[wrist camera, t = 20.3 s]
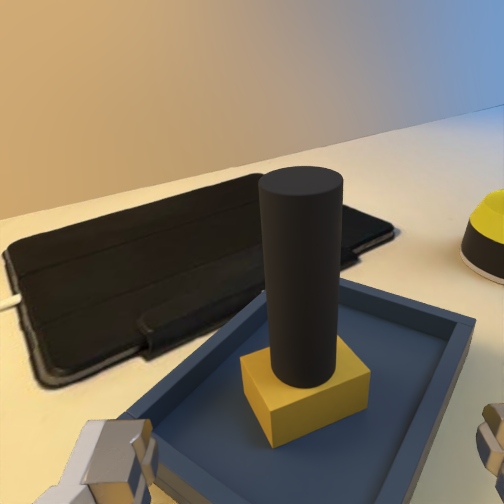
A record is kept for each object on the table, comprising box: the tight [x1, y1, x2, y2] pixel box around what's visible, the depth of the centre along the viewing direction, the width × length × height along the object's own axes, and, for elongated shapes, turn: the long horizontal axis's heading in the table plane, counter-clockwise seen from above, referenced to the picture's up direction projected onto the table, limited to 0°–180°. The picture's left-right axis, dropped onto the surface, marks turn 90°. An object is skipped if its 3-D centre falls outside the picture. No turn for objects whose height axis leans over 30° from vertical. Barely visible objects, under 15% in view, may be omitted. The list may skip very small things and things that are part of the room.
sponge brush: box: [240, 166, 371, 449], centre depth 17 cm, size 5×4×12 cm
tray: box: [117, 278, 476, 504], centre depth 21 cm, size 16×12×2 cm
